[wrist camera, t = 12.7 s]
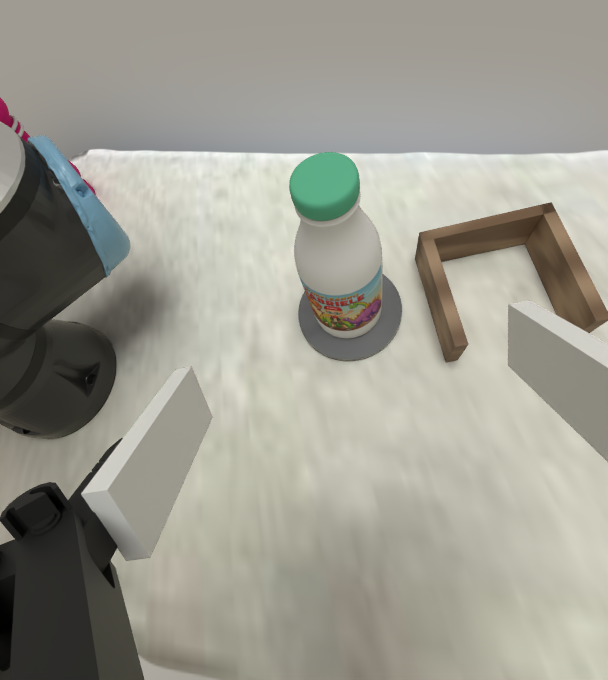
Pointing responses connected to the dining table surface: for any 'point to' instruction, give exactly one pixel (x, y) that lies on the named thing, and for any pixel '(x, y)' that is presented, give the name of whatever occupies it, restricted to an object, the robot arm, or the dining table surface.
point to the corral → (497, 233)
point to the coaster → (362, 344)
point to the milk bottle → (336, 246)
